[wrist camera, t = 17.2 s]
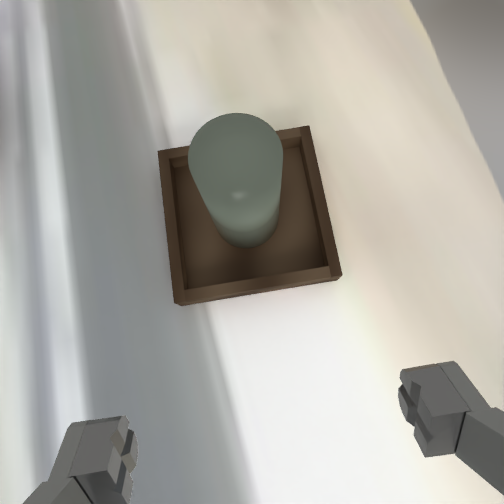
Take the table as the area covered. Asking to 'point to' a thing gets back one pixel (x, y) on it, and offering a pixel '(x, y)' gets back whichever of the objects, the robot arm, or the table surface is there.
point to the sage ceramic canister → (239, 176)
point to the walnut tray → (257, 258)
